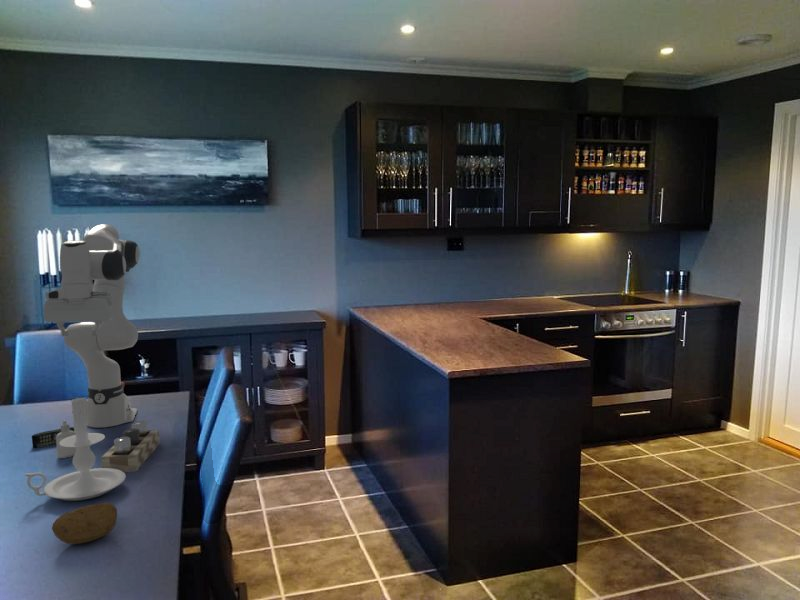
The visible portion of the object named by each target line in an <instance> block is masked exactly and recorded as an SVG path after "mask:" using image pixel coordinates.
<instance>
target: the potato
mask: <svg viewBox="0 0 800 600" xmlns="http://www.w3.org/2000/svg"><path fill="white" fill-rule="evenodd" d="M117 518H118V509H117V508H116V506H115V505H114V504H112V503H111V502H101V503H96V504H90V505H84V506H81V507H78V508H76V509H73V510H71V511H68V512H65V513H63V514H61V515H60V516H59V517H58V518H56V519H55V520H54V522H53V523H52V525H51V530H52V532H53V534H54V536H55V537H56V538H57V539H58V540H60V541H61V542H64V543H66V544H70V545H75V544H76V545H77V544H86V543H88V542H89V543H90V542H93V541H95V540H98V539H100V538H102V537H104V536H107V535H108V534H110V533H111V532H112V530H113V529H114V528H115V526H116V522H117V520H118V519H117Z"/></svg>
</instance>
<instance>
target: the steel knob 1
mask: <svg viewBox="0 0 800 600" xmlns="http://www.w3.org/2000/svg"><path fill="white" fill-rule="evenodd" d="M113 446H114V447H115V455H129V454H130V453H131V442H130V437H123V436H121V437H117V438H115V439H113Z"/></svg>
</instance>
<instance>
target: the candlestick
mask: <svg viewBox="0 0 800 600" xmlns="http://www.w3.org/2000/svg"><path fill="white" fill-rule="evenodd" d="M75 397H76V398H73V399H72V400H71V411H72V412H71V414H72V418H73V427H74V433H76V435H73V436H70V437H67V438H65V439H63V440H61V441H60V442H59V444H60V445H61V446H64V447H75V448H76V453H75V455H74V456H72V465H73V467H74V468H75V469H76V470H77V471H73V472H70V473H66V474H63V475H61V476H59V477H56V478H55V479H54V478H53V480H51V481H49V482H47V476H46V474H45V473H42V472H40V471H39V472H37V471H36V472H33V473H29V472H28V473H24V476H25V477H27V480H26V482H27V486H28V488H30V489H31V490H33V491H34V494H35V495H37V496H47V497H50V498H53V499H58V500H63V501H74V502H75V501H83V500H89V499H94V498H96V497H100V496H102V495H105V494H106V493H109V492H110V491H112V490H113V489H114V488H116V487H119V485H121V484H123V483H124V481H125V480H126V472H122V471H120V470H118V469H112V468H102V467H98V468H97V467H96V468H95V467H94V464H95V461H96V455H95V453H94V452H93V450H92V449H91V445H95V444H97V443H99V442H101V441H103V440H104V439H105V438H106V436H105V434H103V433H99V432H88V426H87V422H88V416H87V400H88V398H87V397H79V398H78V397H77V396H75ZM93 467H94V468H93ZM36 476H40V477H42V479H43V482H42V483H41V484H40V485H36V486H35V485H32V483H31V479H33V478H34V477H36ZM46 483H47V484H46ZM42 488H43V492H39V490H41V489H42Z"/></svg>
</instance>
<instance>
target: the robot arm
mask: <svg viewBox="0 0 800 600" xmlns="http://www.w3.org/2000/svg"><path fill="white" fill-rule="evenodd" d="M140 257H141V252H140V248H139V244H138V243H137V242H135V241H132V240H124V239H120V234H119V232H118V230H117V229H116V228H115V226H113V225H110V224H106V223H102V224H98V225H96V226H94V227H91V229H90V230H88V232H86V234H85V235H84V237H83V239H82V240H69V241H68V240H67V241H64V242H62V243H61V244H60V252H59V269H60V273H61V280H60V284H61V285H60V287H58V288H56V289H54V290H50V291H47V292H45V294H44V297H45V299H46V300H45V302H44V304H43V319H44V321H45V322H46V323H56V327H57V328H58V329H59V330H60V335H61V337H63V341H64V343H65V346H67V348H69V350H71V351H73V352H75V354H77V355H78V357H79V358H80V359H81V360H82V363H83V364H84V365H85V368H86V372H87V379H88V387H87V395H88V396H87V397H88V398H87V416H88V422H87V427H89V428H108V427H109V428H111V427H114V426H119V425H122V424H126V423H130V422H131V423H132V422H133V421H134V420H135V418H136V416H137V413H138V408H136V407H132V403H131V398H130V397H129V396H127V395H126V394H125V393H124V391H125V390H124V388H125V382H123V381H122V380H121V379H122V377H121V367H120V365H119V363H118V362H117V361H115V360H114V359H111V358H110V357H107V356H106V355H105V354H104V351H120V350H125V349H129V348H133V347H134V346H135V345H136V343H137V342H138V338H139V330H138V328H137V327H136V325H135V324H134V323H133V322H131V321H130V320H129V319H128V318H127V317H126V315H125V313H124V310H123V309H124V308H123V305H124V304H123V303H124V294H125V274H126V273H128V272H130V271H131V270H130V269H133V268H135V266H136V265H137V264H138V262H139V260H140ZM93 281H94V282H93ZM74 322H75V323H74ZM65 323H72V324H69V325H68V326H67V327H66V328H65V326H64V325H65ZM135 415H136V416H135Z"/></svg>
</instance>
